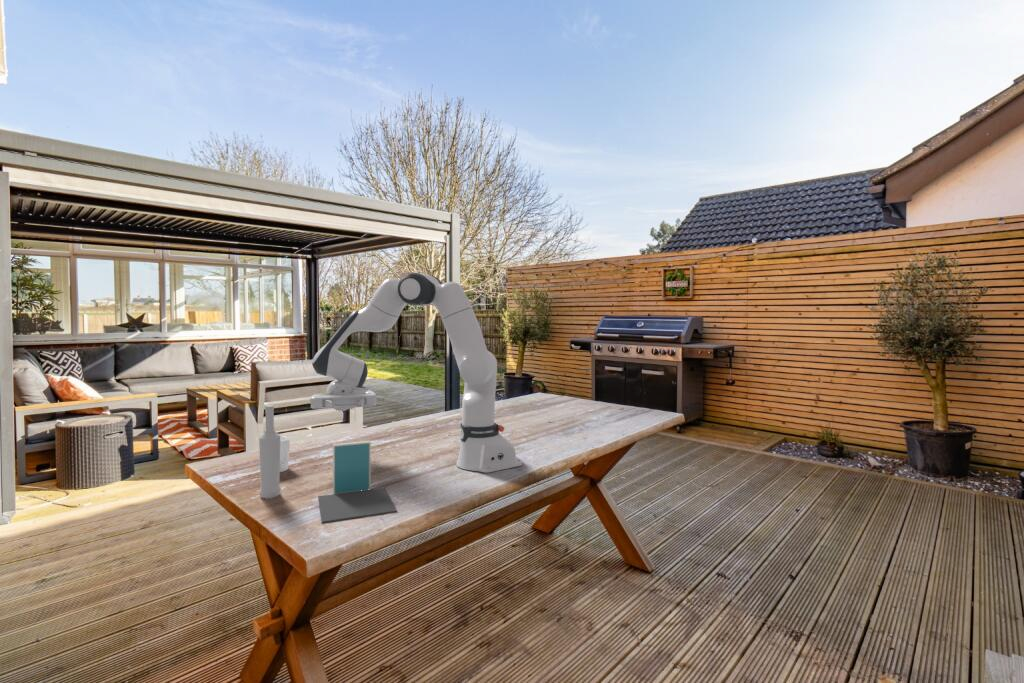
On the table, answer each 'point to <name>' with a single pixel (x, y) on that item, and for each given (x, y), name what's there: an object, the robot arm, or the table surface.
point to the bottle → (269, 457)
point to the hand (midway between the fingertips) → (346, 404)
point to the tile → (351, 467)
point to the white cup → (284, 452)
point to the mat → (355, 505)
